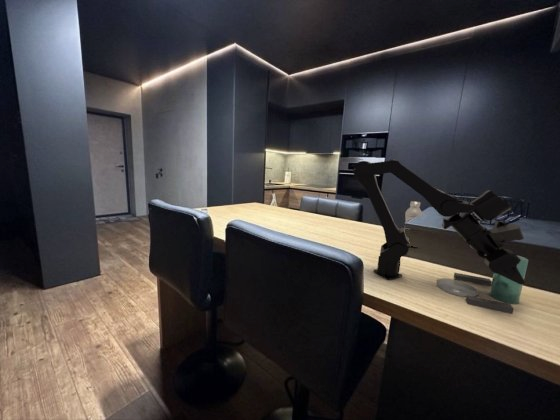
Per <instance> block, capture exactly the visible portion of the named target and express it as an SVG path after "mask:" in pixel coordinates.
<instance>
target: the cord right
mask: <svg viewBox="0 0 560 420" xmlns="http://www.w3.org/2000/svg"><path fill="white" fill-rule="evenodd" d="M465 301H466V304H467V305H471V306H476V307H480V308H485V309H490V310H494V311H497V312H498V311H499V312H501V313H502V312H503V313H509V314H513V312H514V307H513V306H512V304H510V303H505V302H502V301H499V300H492V299H487V298H483V297H478V296H476V297H474V296H469V295H467V296H466V297H465Z"/></svg>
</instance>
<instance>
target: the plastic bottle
mask: <svg viewBox="0 0 560 420" xmlns="http://www.w3.org/2000/svg"><path fill="white" fill-rule="evenodd" d="M409 206H410V207H408V208H407V210H406V211H405V214H404V215H405V223H406V222H407V221H408V220H410V219H412V218H414V217H416V216H417V215H418V216H419V217H423V212H422V210H421V208H420V207H421V202H420V201H415V200H414V201H413V200H411V201H410V204H409ZM418 216H417V217H418Z"/></svg>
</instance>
